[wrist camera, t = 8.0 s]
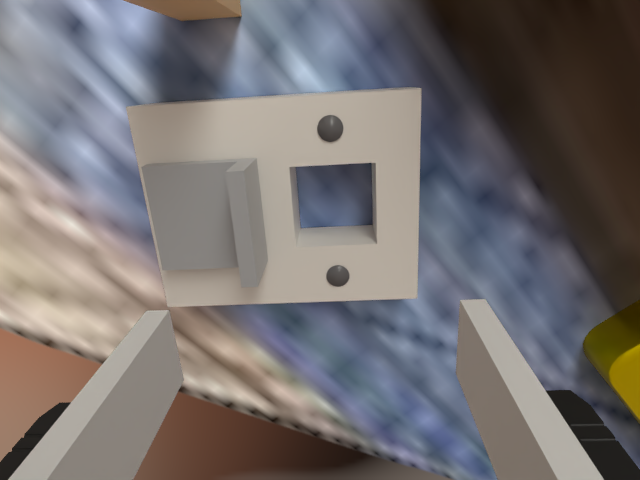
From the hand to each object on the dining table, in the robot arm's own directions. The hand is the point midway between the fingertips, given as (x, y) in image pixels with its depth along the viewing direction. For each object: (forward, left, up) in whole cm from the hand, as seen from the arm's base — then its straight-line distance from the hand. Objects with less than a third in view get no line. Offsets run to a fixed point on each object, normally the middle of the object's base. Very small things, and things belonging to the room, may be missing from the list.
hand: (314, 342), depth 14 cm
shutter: (+8, 0, -15) cm, 17 cm away
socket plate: (+3, 0, -20) cm, 20 cm away
